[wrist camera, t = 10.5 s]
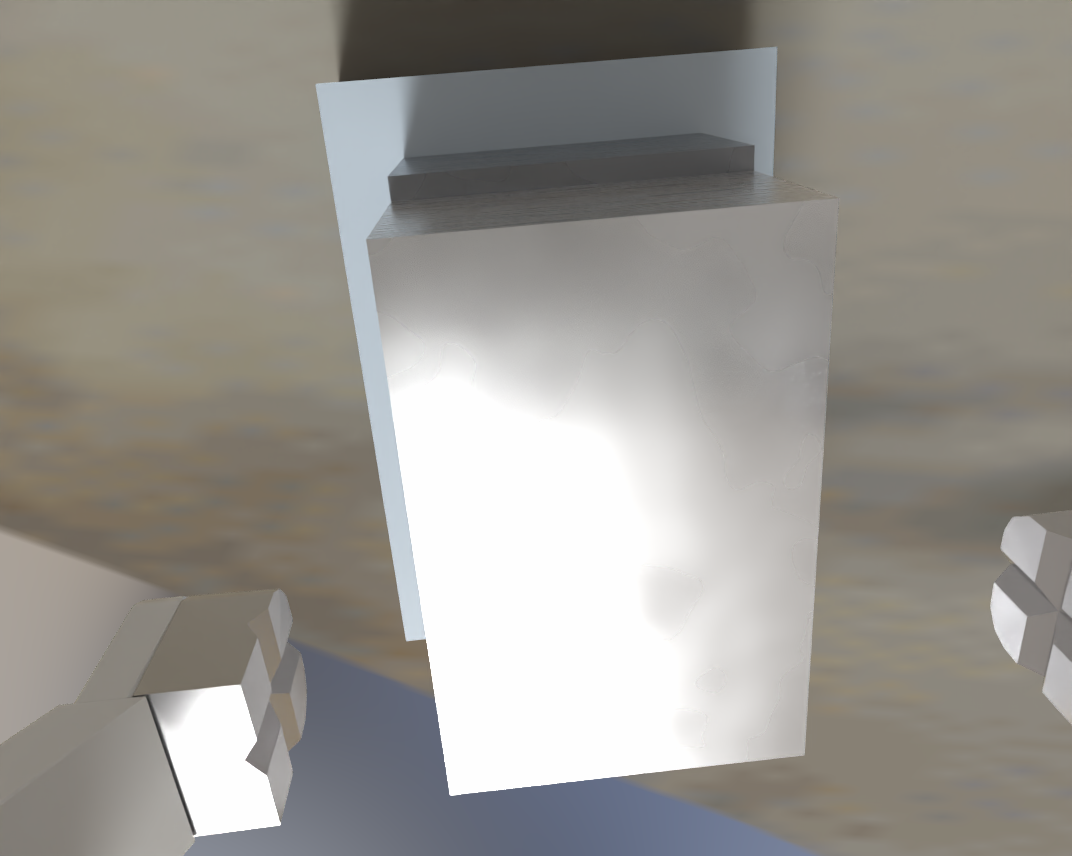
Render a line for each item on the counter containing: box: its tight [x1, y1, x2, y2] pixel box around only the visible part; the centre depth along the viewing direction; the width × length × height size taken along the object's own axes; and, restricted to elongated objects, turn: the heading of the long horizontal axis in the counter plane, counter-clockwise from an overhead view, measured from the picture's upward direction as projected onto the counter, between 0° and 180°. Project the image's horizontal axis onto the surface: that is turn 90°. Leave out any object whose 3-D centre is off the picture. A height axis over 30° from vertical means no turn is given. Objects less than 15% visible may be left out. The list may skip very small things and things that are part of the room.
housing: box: [366, 133, 839, 795], centre depth 16 cm, size 10×6×7 cm, turn 4°
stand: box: [316, 47, 777, 641], centre depth 20 cm, size 13×9×3 cm
